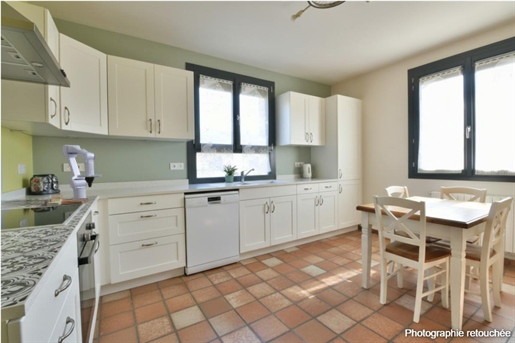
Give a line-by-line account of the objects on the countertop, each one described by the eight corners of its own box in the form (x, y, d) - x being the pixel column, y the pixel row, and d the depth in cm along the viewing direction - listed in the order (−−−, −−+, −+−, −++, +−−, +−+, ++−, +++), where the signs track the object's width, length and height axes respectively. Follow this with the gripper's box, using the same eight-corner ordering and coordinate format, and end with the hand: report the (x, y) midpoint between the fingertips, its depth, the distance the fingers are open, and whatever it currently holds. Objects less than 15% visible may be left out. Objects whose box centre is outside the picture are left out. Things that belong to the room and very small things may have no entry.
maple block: (54, 200, 164) (54, 195, 164) (63, 200, 166) (63, 194, 165) (51, 201, 159) (51, 196, 159) (60, 201, 161) (60, 195, 161)
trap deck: (55, 202, 168) (55, 197, 168) (88, 200, 176) (88, 195, 176) (45, 206, 154) (44, 201, 154) (81, 204, 161) (81, 199, 161)
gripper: (75, 169, 166) (76, 188, 167) (99, 168, 172) (100, 187, 172) (78, 169, 173) (79, 187, 174) (101, 168, 178) (102, 186, 179)
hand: (90, 187), depth 173 cm, fingers closed
